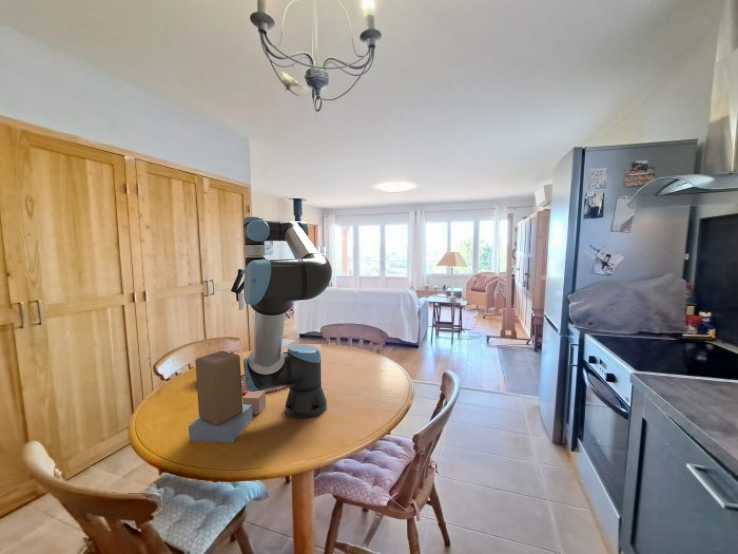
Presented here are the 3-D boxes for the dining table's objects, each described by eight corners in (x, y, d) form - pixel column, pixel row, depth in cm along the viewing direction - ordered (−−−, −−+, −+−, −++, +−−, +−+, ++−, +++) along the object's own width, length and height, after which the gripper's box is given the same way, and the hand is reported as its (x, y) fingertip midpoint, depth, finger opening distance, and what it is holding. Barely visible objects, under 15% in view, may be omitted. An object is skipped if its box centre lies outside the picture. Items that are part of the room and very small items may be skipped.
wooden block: (225, 405, 112) (222, 349, 110) (244, 412, 107) (241, 354, 105) (197, 418, 104) (193, 358, 102) (216, 427, 99) (212, 364, 97)
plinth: (252, 418, 113) (251, 404, 113) (232, 442, 99) (232, 427, 99) (214, 417, 114) (213, 403, 114) (189, 441, 100) (188, 425, 100)
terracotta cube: (266, 405, 122) (265, 390, 121) (259, 414, 116) (258, 398, 115) (250, 405, 122) (249, 390, 122) (243, 413, 116) (242, 397, 116)
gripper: (289, 256, 130) (291, 307, 133) (229, 256, 132) (232, 307, 134) (282, 256, 123) (285, 311, 125) (219, 257, 125) (223, 311, 127)
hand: (257, 309), depth 130 cm, fingers open, 13 cm apart
